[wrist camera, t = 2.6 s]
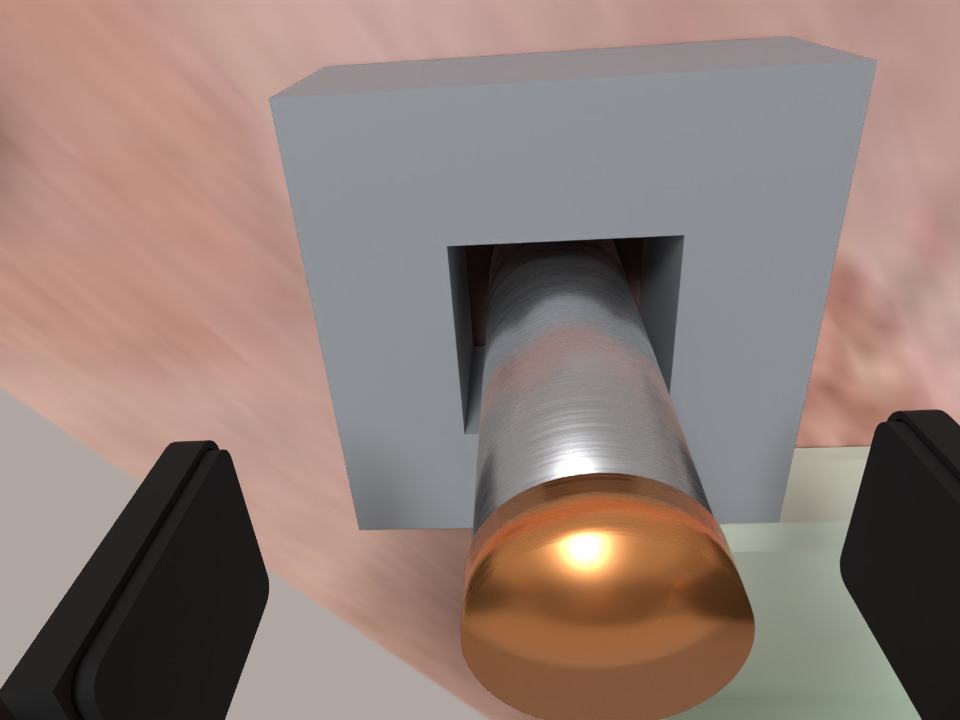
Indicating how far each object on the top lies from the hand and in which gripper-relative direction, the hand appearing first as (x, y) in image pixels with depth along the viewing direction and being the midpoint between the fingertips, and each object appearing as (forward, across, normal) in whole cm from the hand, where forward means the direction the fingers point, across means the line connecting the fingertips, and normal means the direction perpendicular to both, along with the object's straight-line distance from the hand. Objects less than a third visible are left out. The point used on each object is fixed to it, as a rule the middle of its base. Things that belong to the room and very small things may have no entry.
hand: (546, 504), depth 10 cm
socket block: (+8, -1, 0) cm, 8 cm away
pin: (+8, -1, 0) cm, 8 cm away
